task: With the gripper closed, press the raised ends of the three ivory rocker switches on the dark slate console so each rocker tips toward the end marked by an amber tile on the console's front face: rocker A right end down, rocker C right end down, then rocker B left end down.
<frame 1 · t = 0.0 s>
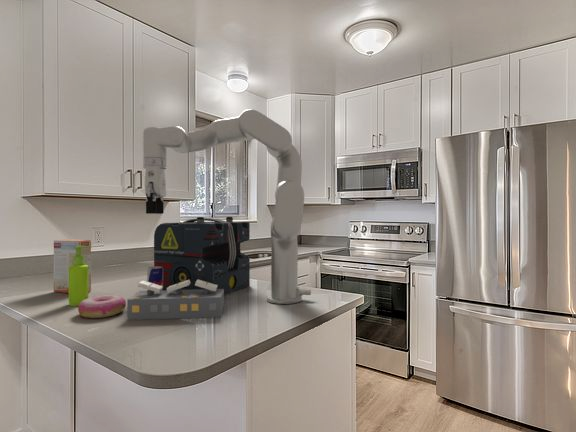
hand: (155, 213, 123), 31 cm above the countertop, tool pointing down, fingers open, 9 cm apart
energy drink: (155, 301, 127), on the countertop
power unit: (204, 290, 147), on the countertop
donut: (102, 314, 111), on the countertop
rocker C: (150, 286, 111), point 9 cm above the countertop, hinge at -18.0°
soap dispenser: (80, 304, 124), on the countertop
console: (178, 312, 112), on the countertop
rocker B: (178, 285, 112), point 9 cm above the countertop, hinge at 18.0°
rocker A: (206, 285, 113), point 9 cm above the countertop, hinge at -18.0°
cracker box: (72, 292, 143), on the countertop
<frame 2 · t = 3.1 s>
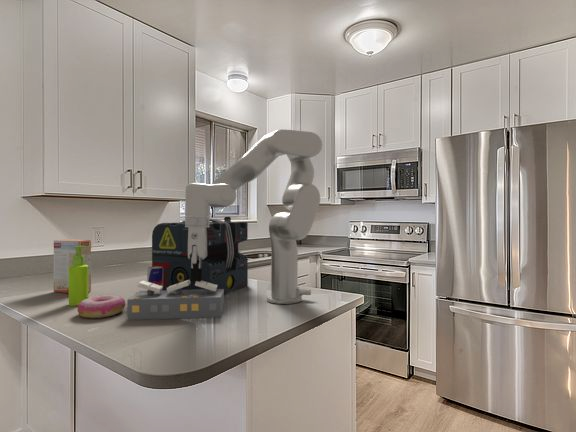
hand: (196, 280, 112), 10 cm above the countertop, tool pointing down, fingers closed
rocker A: (206, 285, 113), point 9 cm above the countertop, hinge at -17.9°, touching gripper
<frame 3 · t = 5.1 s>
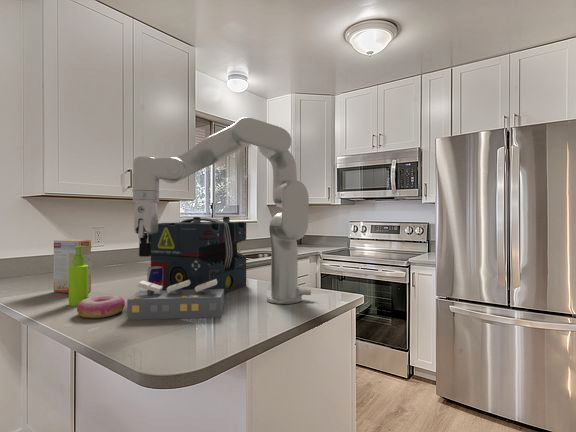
hand: (145, 256, 110), 18 cm above the countertop, tool pointing down, fingers closed
rocker B: (178, 285, 112), point 9 cm above the countertop, hinge at 17.2°
rocker A: (206, 285, 113), point 9 cm above the countertop, hinge at 18.6°
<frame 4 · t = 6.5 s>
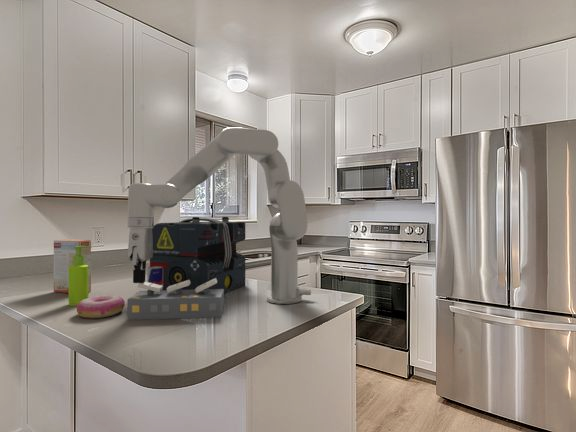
hand: (139, 282, 110), 10 cm above the countertop, tool pointing down, fingers closed
rocker C: (150, 286, 111), point 9 cm above the countertop, hinge at -14.7°, touching gripper
rocker A: (206, 285, 113), point 9 cm above the countertop, hinge at 25.0°
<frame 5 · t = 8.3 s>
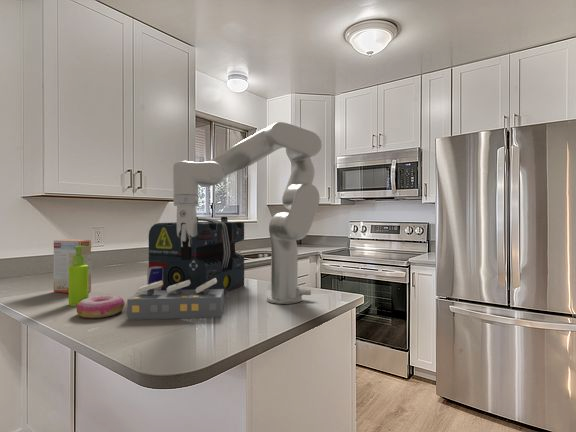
hand: (186, 259, 112), 17 cm above the countertop, tool pointing down, fingers closed
rocker C: (150, 286, 111), point 9 cm above the countertop, hinge at 16.0°
rocker A: (206, 285, 113), point 9 cm above the countertop, hinge at 27.5°
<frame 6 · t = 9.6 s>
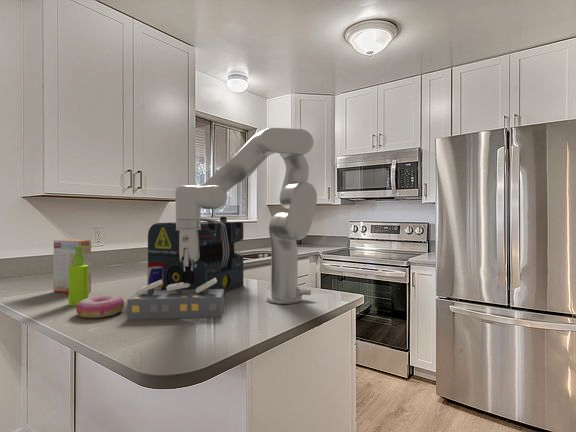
hand: (189, 283, 112), 9 cm above the countertop, tool pointing down, fingers closed
rocker C: (150, 286, 111), point 9 cm above the countertop, hinge at 22.3°
rocker B: (178, 285, 112), point 9 cm above the countertop, hinge at 9.2°, touching gripper
rocker A: (206, 285, 113), point 9 cm above the countertop, hinge at 28.0°
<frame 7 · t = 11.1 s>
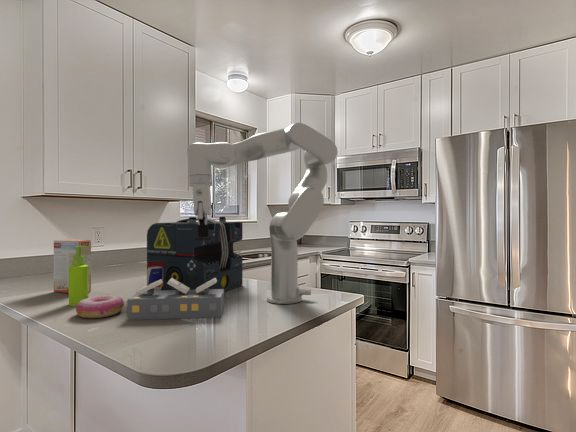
hand: (203, 236, 118), 23 cm above the countertop, tool pointing down, fingers closed
rocker C: (150, 286, 111), point 9 cm above the countertop, hinge at 24.7°
rocker B: (178, 285, 112), point 9 cm above the countertop, hinge at -31.3°, touching console
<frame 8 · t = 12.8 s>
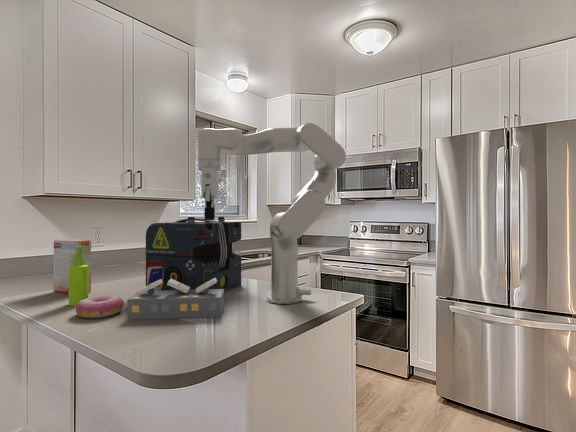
hand: (209, 219, 121), 29 cm above the countertop, tool pointing down, fingers closed
rocker C: (150, 286, 111), point 9 cm above the countertop, hinge at 25.6°
rocker B: (178, 285, 112), point 9 cm above the countertop, hinge at -26.1°
at the end: rocker A at +28° (first picture: -18°); rocker B at -26° (first picture: +18°); rocker C at +26° (first picture: -18°) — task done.
